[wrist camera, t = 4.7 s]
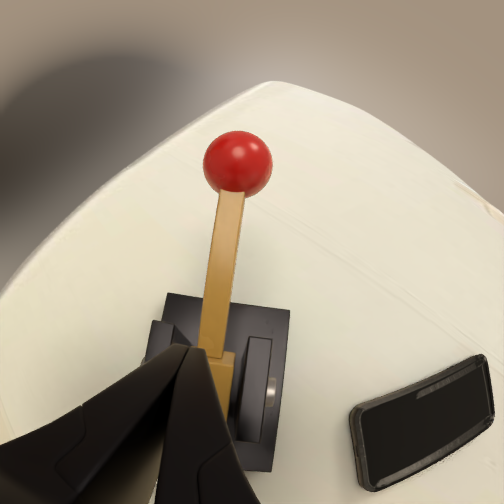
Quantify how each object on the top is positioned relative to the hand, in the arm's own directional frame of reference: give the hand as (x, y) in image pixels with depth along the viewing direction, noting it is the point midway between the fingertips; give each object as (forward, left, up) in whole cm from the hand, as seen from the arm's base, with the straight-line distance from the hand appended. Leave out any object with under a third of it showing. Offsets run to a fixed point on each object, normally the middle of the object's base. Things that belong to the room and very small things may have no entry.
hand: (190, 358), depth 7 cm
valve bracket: (0, 0, -14) cm, 14 cm away
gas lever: (+4, +3, -5) cm, 7 cm away
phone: (+9, -16, -14) cm, 23 cm away
